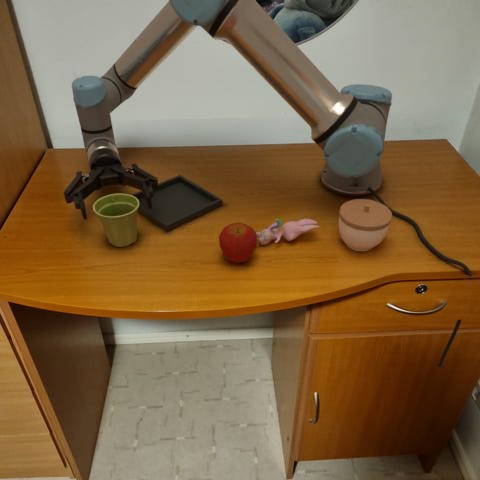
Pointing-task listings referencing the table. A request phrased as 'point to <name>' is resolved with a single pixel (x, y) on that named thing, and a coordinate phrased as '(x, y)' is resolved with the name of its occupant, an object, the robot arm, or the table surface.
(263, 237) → the pink toy figurine
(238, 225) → the apple
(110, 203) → the plant pot
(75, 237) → the table surface
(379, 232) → the trinket box
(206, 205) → the drip tray
